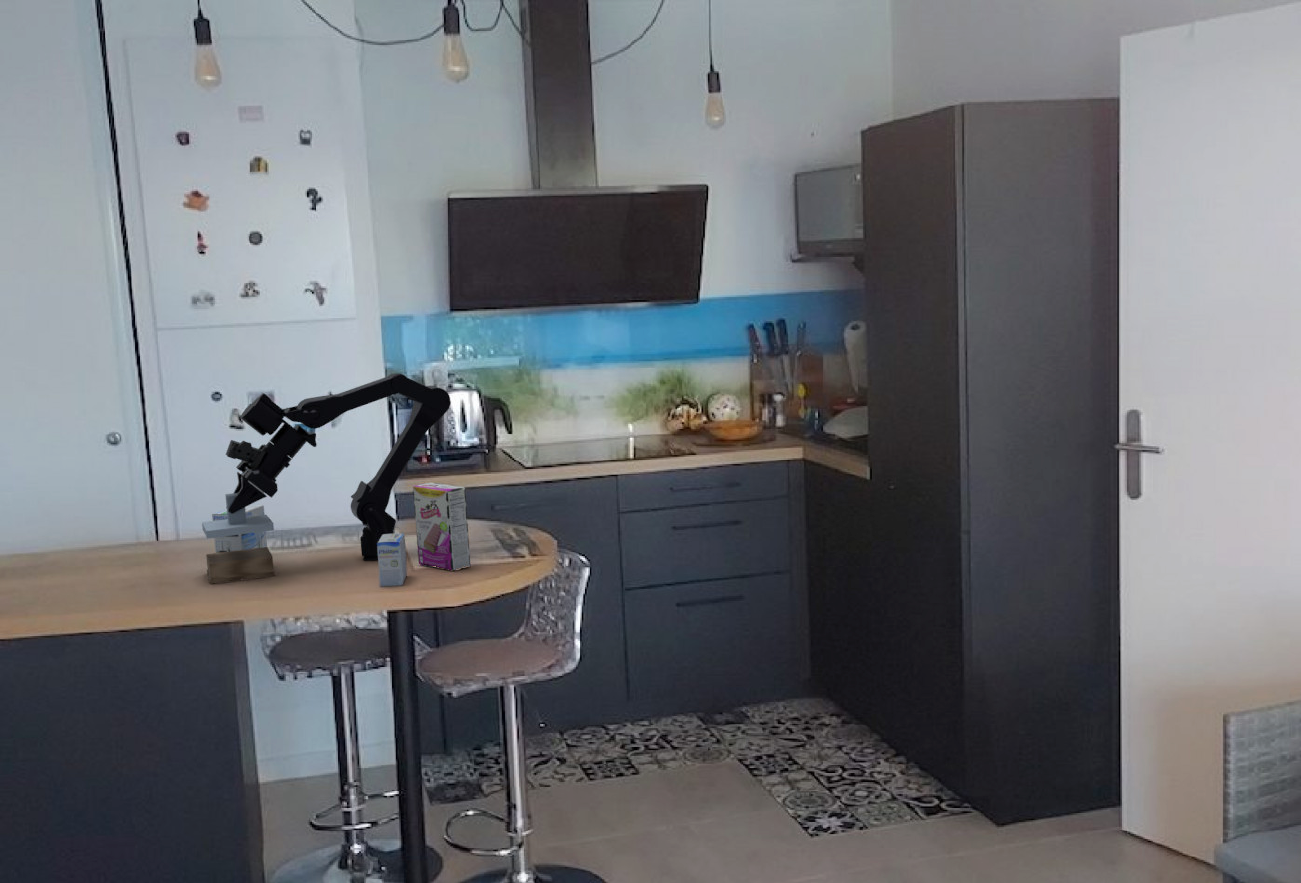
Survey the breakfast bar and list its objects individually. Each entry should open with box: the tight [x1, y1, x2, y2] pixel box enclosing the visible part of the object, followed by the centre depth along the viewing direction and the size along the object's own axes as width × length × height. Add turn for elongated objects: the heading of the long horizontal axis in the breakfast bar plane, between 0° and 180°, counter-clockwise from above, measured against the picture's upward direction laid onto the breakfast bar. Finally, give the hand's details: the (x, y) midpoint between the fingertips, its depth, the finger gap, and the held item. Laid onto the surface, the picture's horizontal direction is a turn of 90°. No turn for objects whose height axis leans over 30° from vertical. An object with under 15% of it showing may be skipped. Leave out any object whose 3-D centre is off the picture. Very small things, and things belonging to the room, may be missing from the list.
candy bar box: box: [412, 482, 471, 571], centre depth 257 cm, size 11×5×16 cm, turn 48°
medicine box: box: [377, 533, 408, 588], centre depth 247 cm, size 8×4×9 cm, turn 5°
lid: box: [201, 492, 275, 539], centre depth 257 cm, size 13×11×7 cm
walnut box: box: [205, 546, 276, 585], centre depth 259 cm, size 12×10×4 cm
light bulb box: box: [211, 504, 268, 553], centre depth 274 cm, size 11×7×11 cm, turn 168°
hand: (228, 510), depth 257 cm, fingers closed on lid, 3 cm apart
